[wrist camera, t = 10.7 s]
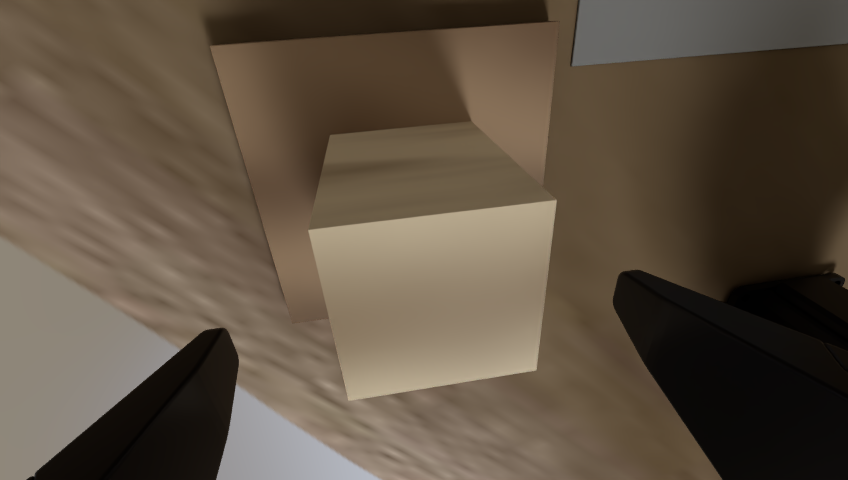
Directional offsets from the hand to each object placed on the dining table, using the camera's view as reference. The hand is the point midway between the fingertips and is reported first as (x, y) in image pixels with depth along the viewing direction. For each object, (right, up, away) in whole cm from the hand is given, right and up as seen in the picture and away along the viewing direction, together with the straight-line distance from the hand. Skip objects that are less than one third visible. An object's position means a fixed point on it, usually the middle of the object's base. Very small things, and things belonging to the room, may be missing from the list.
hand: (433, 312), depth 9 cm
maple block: (-1, +3, +6) cm, 7 cm away
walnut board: (-1, +4, +7) cm, 8 cm away
